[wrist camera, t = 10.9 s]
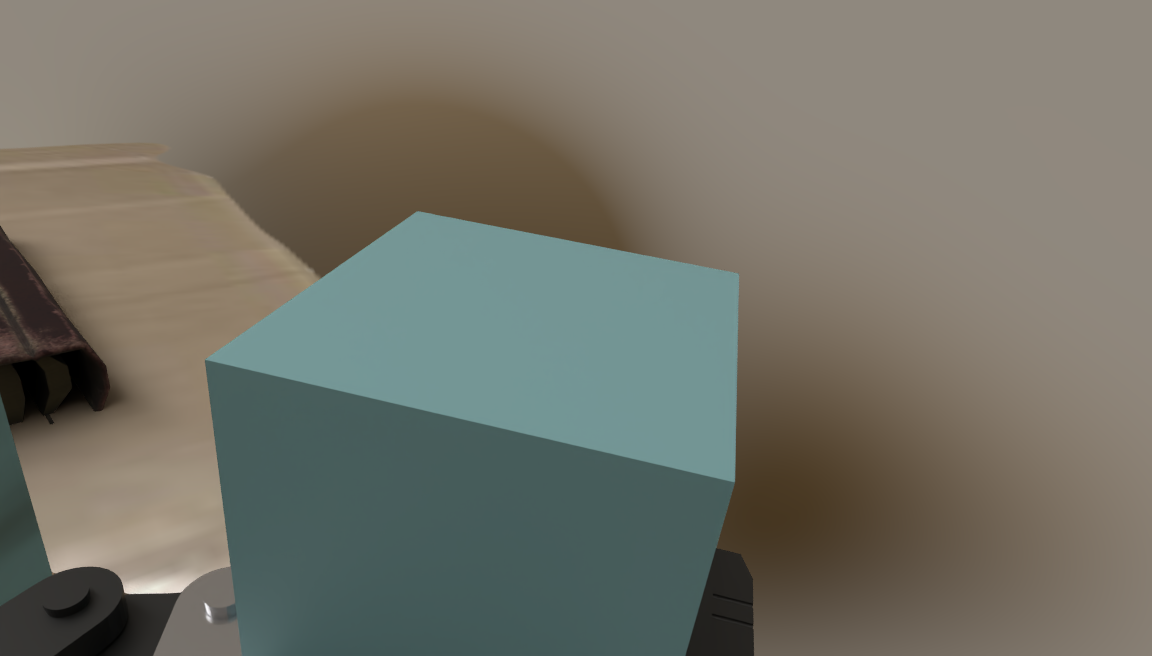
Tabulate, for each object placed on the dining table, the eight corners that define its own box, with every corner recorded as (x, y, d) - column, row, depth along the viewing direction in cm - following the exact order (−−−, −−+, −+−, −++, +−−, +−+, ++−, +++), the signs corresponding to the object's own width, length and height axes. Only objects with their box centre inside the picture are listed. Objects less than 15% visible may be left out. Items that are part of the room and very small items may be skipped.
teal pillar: (281, 970, 12) (205, 359, 7) (404, 708, 17) (417, 211, 11) (566, 1069, 12) (734, 482, 6) (616, 769, 16) (739, 273, 11)
